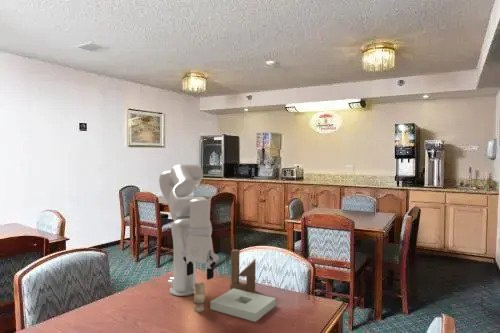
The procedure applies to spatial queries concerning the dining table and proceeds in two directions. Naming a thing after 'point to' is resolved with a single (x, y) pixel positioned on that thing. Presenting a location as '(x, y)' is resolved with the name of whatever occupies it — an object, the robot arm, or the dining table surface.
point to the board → (243, 304)
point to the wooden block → (242, 274)
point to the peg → (199, 296)
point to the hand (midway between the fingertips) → (199, 276)
